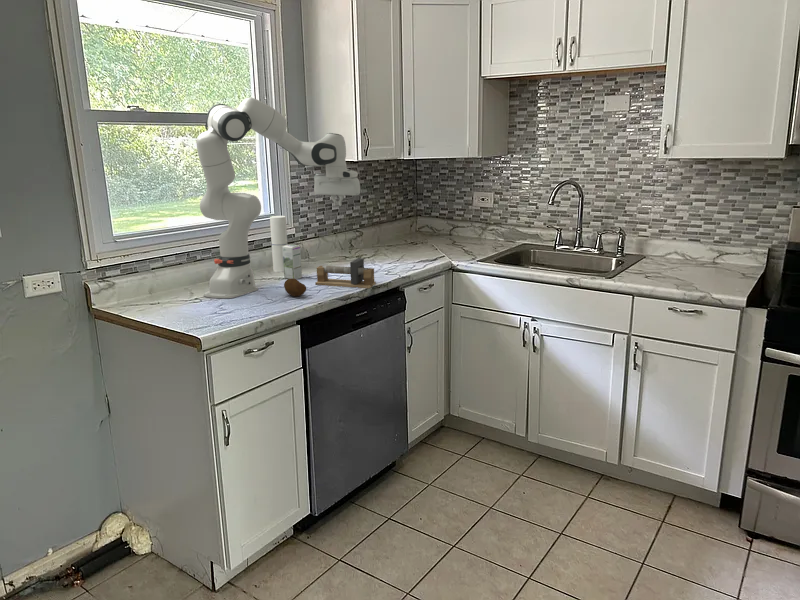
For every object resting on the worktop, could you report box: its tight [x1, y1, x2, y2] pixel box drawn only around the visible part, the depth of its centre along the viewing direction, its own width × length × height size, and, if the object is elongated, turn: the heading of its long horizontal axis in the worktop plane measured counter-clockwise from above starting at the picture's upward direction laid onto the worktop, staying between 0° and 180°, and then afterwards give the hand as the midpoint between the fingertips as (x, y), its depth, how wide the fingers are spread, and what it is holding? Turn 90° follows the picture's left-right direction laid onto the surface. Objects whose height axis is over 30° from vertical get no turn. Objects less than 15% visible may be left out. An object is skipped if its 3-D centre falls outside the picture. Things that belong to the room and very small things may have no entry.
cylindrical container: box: [269, 215, 288, 273], centre depth 279 cm, size 7×7×25 cm
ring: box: [349, 257, 365, 284], centre depth 251 cm, size 9×2×9 cm, turn 162°
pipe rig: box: [315, 265, 377, 289], centre depth 253 cm, size 8×24×8 cm, turn 72°
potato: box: [283, 278, 307, 298], centre depth 236 cm, size 7×12×7 cm, turn 53°
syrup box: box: [282, 244, 303, 280], centre depth 265 cm, size 6×6×14 cm
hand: (337, 205), depth 260 cm, fingers closed
